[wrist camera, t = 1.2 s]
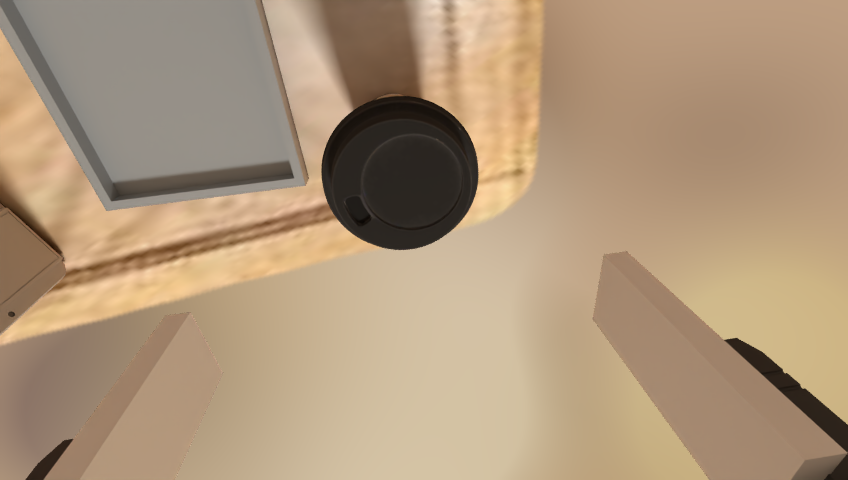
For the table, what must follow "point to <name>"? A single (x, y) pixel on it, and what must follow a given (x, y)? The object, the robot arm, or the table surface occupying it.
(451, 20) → the table surface
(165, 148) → the grey tray
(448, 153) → the coffee cup
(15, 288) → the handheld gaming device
